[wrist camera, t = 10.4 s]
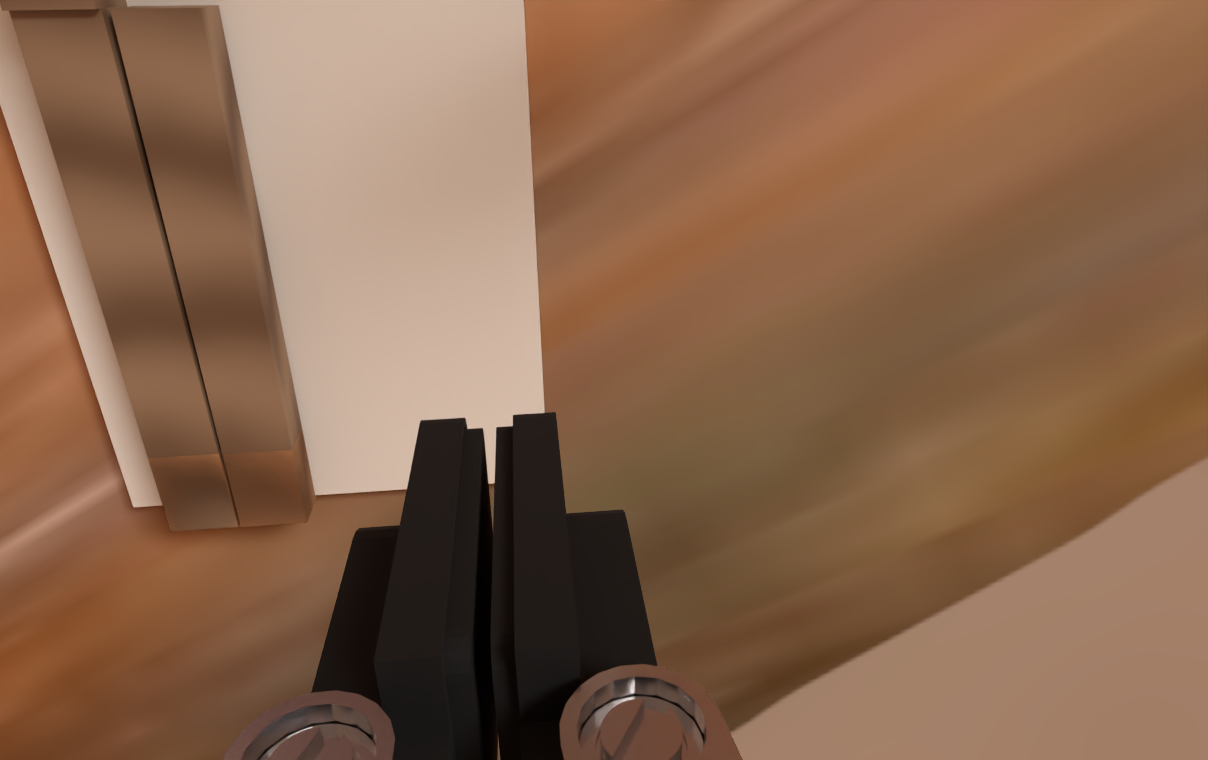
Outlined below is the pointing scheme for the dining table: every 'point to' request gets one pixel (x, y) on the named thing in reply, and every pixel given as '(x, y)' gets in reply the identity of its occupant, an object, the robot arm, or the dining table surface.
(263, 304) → the tongs arm
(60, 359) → the dining table surface
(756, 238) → the dining table surface
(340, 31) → the board
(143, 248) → the tongs base
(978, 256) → the dining table surface
